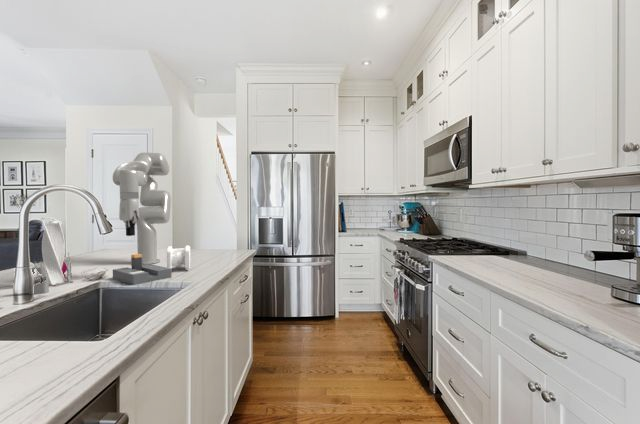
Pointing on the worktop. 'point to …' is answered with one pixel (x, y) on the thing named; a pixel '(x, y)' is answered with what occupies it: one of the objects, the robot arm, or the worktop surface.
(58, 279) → the skyscraper
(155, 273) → the breaker panel
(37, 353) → the worktop surface
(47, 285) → the power adapter
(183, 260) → the cable organizer
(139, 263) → the block
